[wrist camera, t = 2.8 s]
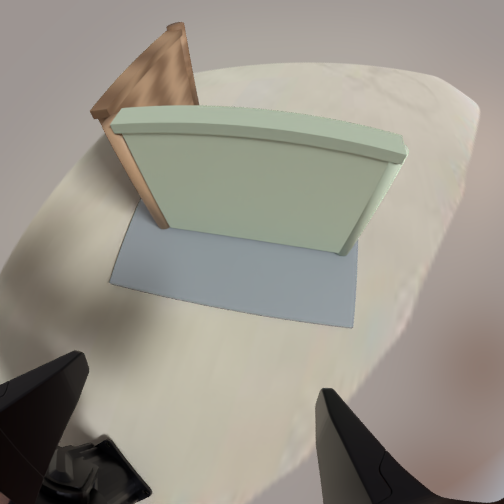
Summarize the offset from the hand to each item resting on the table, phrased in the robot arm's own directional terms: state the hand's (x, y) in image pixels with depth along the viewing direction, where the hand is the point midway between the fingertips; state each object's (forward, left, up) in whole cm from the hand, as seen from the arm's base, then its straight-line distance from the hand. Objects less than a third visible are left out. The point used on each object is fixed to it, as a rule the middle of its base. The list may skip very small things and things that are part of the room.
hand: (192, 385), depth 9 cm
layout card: (+12, -12, -14) cm, 22 cm away
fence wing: (+9, -9, -13) cm, 18 cm away
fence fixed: (+22, -9, -13) cm, 27 cm away
